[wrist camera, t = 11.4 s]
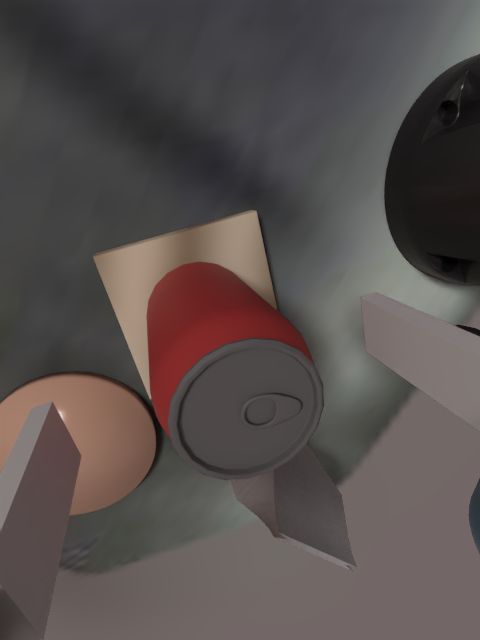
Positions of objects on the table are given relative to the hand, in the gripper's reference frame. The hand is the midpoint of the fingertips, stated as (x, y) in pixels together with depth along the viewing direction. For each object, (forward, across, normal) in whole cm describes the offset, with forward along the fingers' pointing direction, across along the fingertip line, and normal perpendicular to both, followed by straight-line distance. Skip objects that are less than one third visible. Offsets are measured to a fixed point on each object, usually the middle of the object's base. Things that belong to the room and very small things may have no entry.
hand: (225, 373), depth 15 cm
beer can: (+9, 0, 0) cm, 9 cm away
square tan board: (+10, 0, 0) cm, 10 cm away
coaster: (+10, +11, +7) cm, 16 cm away
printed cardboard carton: (+10, -2, +13) cm, 17 cm away
